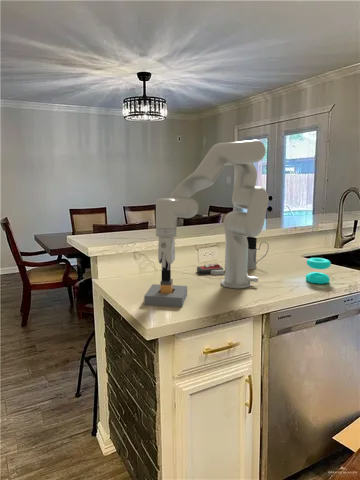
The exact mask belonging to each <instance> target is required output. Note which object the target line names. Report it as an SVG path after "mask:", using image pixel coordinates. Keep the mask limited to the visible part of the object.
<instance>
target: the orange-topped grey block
mask: <svg viewBox="0 0 360 480" xmlns="http://www.w3.org/2000/svg"><path fill="white" fill-rule="evenodd" d="M173 281H174V280H173V278H171V279H170V281H162V279H161V280H160V284H159V285H161V293H173V285H174V283H173Z"/></svg>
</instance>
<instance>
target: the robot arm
mask: <svg viewBox="0 0 360 480" xmlns="http://www.w3.org/2000/svg"><path fill="white" fill-rule="evenodd" d="M265 156H266V146H265V143H264V142H262V141H261V140H258V139H251V140H239V141H229V142H219V143H215V144H213V145H212V147H211V148H209V150H208V152H207V153H206V155H205V156H204V158H203V159H202V160H201V162H200V164H199V165H198V166H197V168H196V169H195V170H194V171H193V172H192V173H191V174H189V175H188V176H186V178H184V179H183V180H182V181H181V182H180V183H179V184H177V186H176V187H175V188H174V189H173V191H172V192H171V193H170V196H169V197H163V198H158V199H156V202H155V236H156V237H157V238H158V247H157V251H158V253H157V259H158V264H161V280H162V281H170V279H172V278H171V277H172V275H171V274H172V273H171V269H172V268H171V267H172V266H171V265H172V264H173V263H174V261H175V260H176V242H175V237H177V220H178V219H177V218H180V219H181V218H184V219H191V218H193V217H195V216H196V215H197V214H198V212H199V204H198V202H197V201H196V199H193V198H191V197H192V196H193V195H195V194H196V193H197V192H200V191H202V190H205V189H206V188H209V187H210V186H213V184H214V183H215V182H216V180H217V179H218V177H219V176H220V174H221V173H222V171H223V170H224V169H225V167H227V166H234V167H235V170H236V171H235V173H236V174H235V175H236V176H235V181H234V186H233V190H232V191H233V192H232V197H231V203H232V205H233V206H234V207H236V208H238V209H242V210H246V211H240V210H234V211H230V212H227V214H225V217H224V219H223V230H224V238H225V250H224V253H225V255H224V271H225V273H224V278H223V279H221V281H220V285H221V286H222V287H225V288H228V289H238V290H239V289H246V288H249V287H250V286H251V282H252V283H253V282H254V283H258V282H259V278H258V277H256V276H253V275H252V276H250V275H248V274H249V273H248V269H247V263H248V241H247V237H255V238H256V237H258V236H259V235H260V234H261V233H262V231H263V229H264V224H265V219H266V215H267V211H268V205H269V195H268V192H267V191H266V189H265V188H264V187H262V186H258V185H257V186H256V184H257V178H258V171H257V167H256V165H255V163H258V162H260V161H262V160H263V159H264V157H265Z"/></svg>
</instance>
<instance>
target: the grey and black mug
mask: <svg viewBox="0 0 360 480" xmlns="http://www.w3.org/2000/svg"><path fill="white" fill-rule="evenodd" d="M246 237H247V236H246ZM257 239H258V238H256V237H247V241H248V263H247V270H256V269H257V264H258V263H259V261H261V260H262V259H264V258H265V257H266V256H267V254H268V252H269V249H270V248H269V247H270V246H269V243H268V242H267V241H262V242H260V243H259V247H258V248H257ZM263 243H265V244H267V250H266V253H265V254H264V255H263V256H262V257H261V258H260V259H257V251H258V250H260V249H261V245H262V244H263Z"/></svg>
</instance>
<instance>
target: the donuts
mask: <svg viewBox="0 0 360 480" xmlns="http://www.w3.org/2000/svg"><path fill="white" fill-rule="evenodd" d="M306 264H307V266H308V267H310V268H311V269H315V270H327V269H329V268H330V267H331V265H332V262H331V261H330V260H329V259H326V258H324V257H323V258H322V257H310V258H308V259H307V260H306ZM305 281H306V282H308V283H310V282H311V284H314V283H317V284H316V285H324V284H325V283H326V284H328V283H329V282H330V276H328V274H325V273H324V272H318V271H312V272H309V273H307V274H306V275H305Z"/></svg>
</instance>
